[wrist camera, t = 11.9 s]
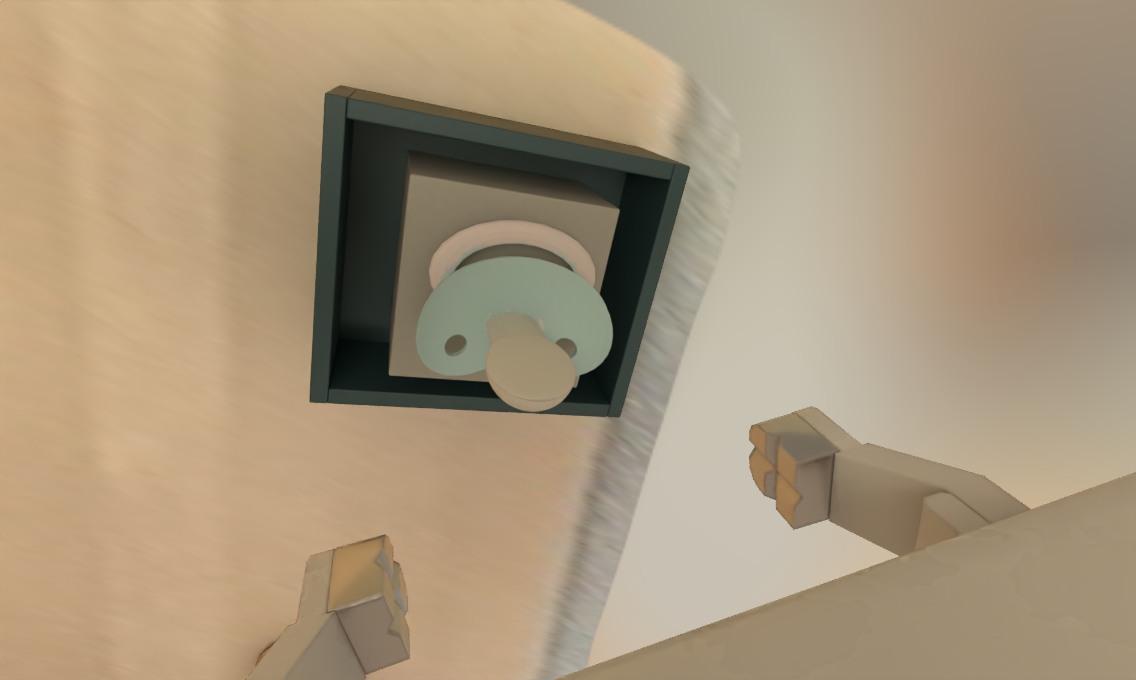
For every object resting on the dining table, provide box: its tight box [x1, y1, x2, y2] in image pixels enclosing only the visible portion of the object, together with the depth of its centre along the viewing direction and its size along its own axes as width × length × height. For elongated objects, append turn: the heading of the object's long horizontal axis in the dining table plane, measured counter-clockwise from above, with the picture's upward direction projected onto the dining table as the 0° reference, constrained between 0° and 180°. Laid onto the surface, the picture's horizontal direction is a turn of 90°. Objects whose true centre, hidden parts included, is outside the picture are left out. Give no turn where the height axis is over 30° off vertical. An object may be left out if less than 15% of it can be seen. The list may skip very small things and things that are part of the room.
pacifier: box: [416, 220, 613, 412], centre depth 21 cm, size 7×6×6 cm
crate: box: [310, 85, 690, 417], centre depth 27 cm, size 14×12×6 cm
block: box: [389, 150, 620, 387], centre depth 26 cm, size 8×8×6 cm
